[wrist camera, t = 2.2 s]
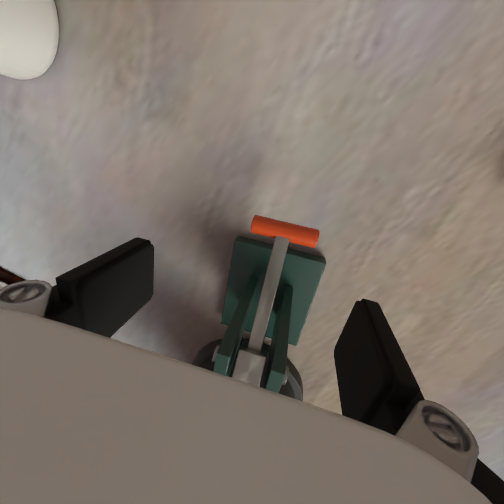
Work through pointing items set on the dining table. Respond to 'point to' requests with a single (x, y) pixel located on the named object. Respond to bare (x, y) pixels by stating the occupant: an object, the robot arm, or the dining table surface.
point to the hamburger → (8, 278)
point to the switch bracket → (283, 310)
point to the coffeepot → (27, 37)
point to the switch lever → (268, 293)
